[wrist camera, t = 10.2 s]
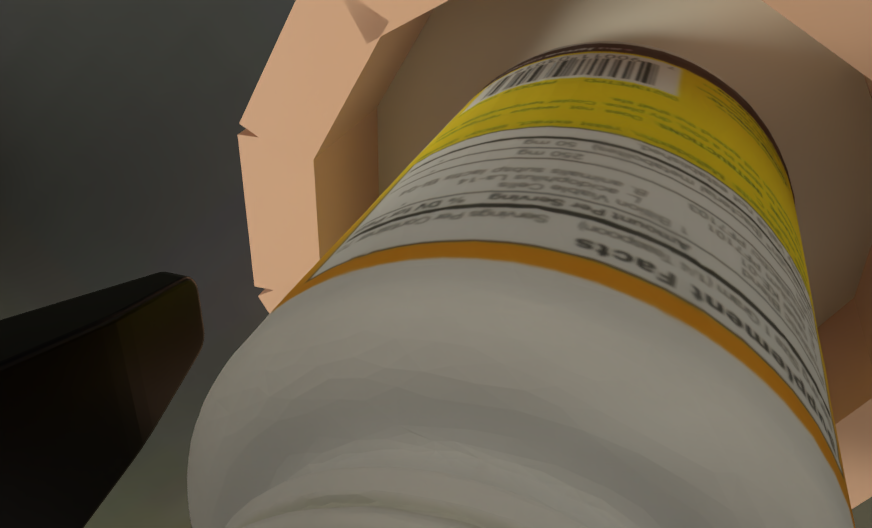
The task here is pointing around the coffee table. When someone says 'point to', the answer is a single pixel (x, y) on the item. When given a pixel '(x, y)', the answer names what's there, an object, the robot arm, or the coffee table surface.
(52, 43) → the coffee table surface
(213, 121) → the coffee table surface
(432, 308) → the supplement bottle
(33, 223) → the coffee table surface
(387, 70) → the collar
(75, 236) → the coffee table surface
